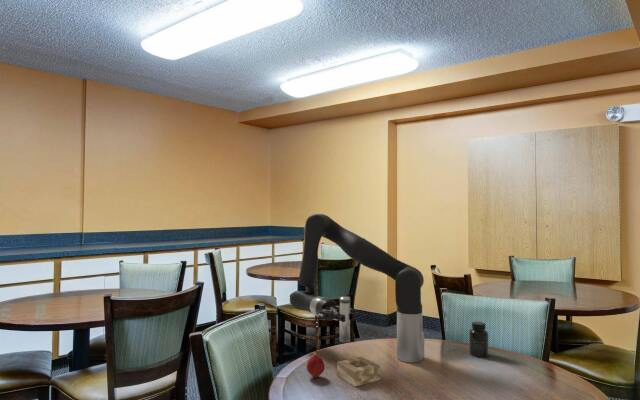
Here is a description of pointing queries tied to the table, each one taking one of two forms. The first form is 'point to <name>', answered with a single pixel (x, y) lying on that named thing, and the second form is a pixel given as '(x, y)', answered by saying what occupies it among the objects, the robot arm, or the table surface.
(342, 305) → the cylinder
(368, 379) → the square ring gauge
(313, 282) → the robot arm
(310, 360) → the onion
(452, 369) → the table surface
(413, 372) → the table surface
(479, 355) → the supplement bottle
